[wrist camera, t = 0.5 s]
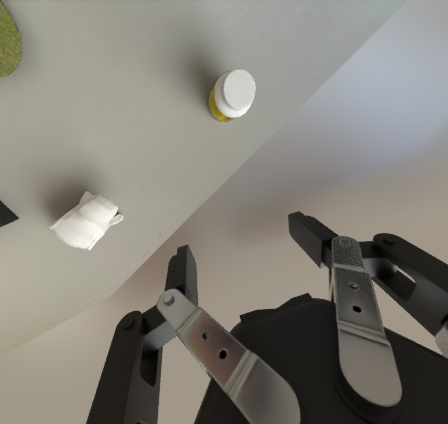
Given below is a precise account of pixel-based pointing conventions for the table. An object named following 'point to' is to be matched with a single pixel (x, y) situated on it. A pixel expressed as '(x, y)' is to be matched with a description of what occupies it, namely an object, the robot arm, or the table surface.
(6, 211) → the pad
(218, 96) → the pill bottle
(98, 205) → the white chubby doll
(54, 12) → the table surface
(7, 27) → the mat
